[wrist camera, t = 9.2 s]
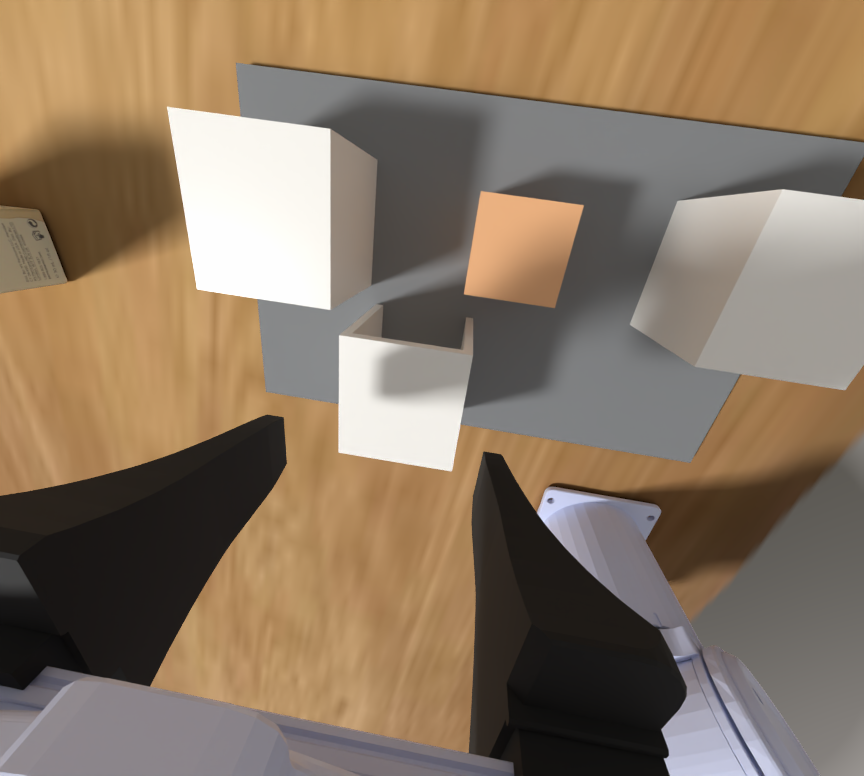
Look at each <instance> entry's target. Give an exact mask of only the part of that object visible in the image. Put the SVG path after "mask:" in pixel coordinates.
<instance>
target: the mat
mask: <svg viewBox="0 0 864 776" xmlns="http://www.w3.org/2000/svg"><path fill="white" fill-rule="evenodd" d="M236 70H237V81H238V92H239V103H240V113H241V117H246V118H253V119H261V120H268V121H276V122H283V123H291V124H298V125H306V126H313V127H321V128H328V129H331V130H333V131H335V132H336V133H338V134H339V135H341V136H342V137H344V138H345V139H347V140H348V141H350V142H351V143H353V144H354V145H356V146H357V147H359V148H360V149H362V150H363V151H365V152H366V153H368V154H369V155H371V156H372V157H374V158H375V159H377V180H376V200H375V220H374V240H373V260H372V280H371V286H369V287H368V288H366V289H364V290H363V291H361V292H359V293H358V294H356V295H355V296H353V297H351V298H350V299H348V300H346V301H345V302H343V303H341V304H340V305H338V306H336V307H335V308H333V309H331V310H327V309H321V308H314V307H308V306H301V305H295V304H289V303H282V302H276V301H269V300H263V299H258V310H259V320H260V331H261V342H262V353H263V364H264V375H265V386H266V392H270V393H276V394H282V395H288V396H294V397H300V398H306V399H312V400H318V401H324V402H330V403H336V404H339V335H340V334H341V333H342V332H343V331H345V330H346V329H347V328H348V327H350V326H351V325H352V324H353V323H354V322H356V321H357V320H358V319H359V318H360V317H362V316H363V315H364V314H365V313H366V312H368V311H369V310H370V309H371V308H372V307H374V306H375V305H376V304H380V305H383V320H382V337H381V338H387V339H394V340H401V341H407V342H414V343H420V344H427V345H434V346H440V347H447V348H454V349H460V350H461V346H462V340H463V334H464V328H465V322H466V317H468V318H473V359H472V364H471V369H470V375H469V380H468V386H467V391H466V397H465V402H464V408H463V413H462V418H461V424H462V425H468V426H474V427H480V428H486V429H492V430H498V431H503V432H509V433H515V434H521V435H527V436H533V437H539V438H545V439H551V440H557V441H563V442H569V443H575V444H581V445H587V446H593V447H599V448H605V449H611V450H617V451H623V452H629V453H635V454H641V455H647V456H653V457H659V458H665V459H671V460H677V461H683V462H689V463H690V462H691V461H692V459H693V457H694V455H695V453H696V452H697V450H698V448H699V446H700V445H701V443H702V441H703V439H704V438H705V436H706V434H707V432H708V431H709V429H710V427H711V425H712V423H713V422H714V420H715V418H716V416H717V415H718V413H719V411H720V409H721V408H722V406H723V404H724V402H725V401H726V399H727V397H728V395H729V393H730V392H731V390H732V388H733V386H734V385H735V383H736V381H737V379H738V378H739V376H740V374H738V373H731V372H725V371H718V370H712V369H705V368H699V367H694V366H693V365H691V364H689V363H688V362H686V361H685V360H683V359H682V358H680V357H679V356H677V355H676V354H674V353H673V352H671V351H669V350H668V349H666V348H665V347H663V346H662V345H660V344H659V343H657V342H656V341H654V340H652V339H651V338H649V337H648V336H646V335H645V334H643V333H642V332H640V331H639V330H637V329H636V328H634V327H632V326H631V325H630V322H631V320H632V317H633V315H634V312H635V310H636V307H637V304H638V302H639V299H640V297H641V294H642V291H643V289H644V286H645V284H646V281H647V279H648V276H649V273H650V271H651V268H652V266H653V263H654V260H655V258H656V255H657V253H658V250H659V248H660V245H661V242H662V240H663V237H664V235H665V232H666V229H667V227H668V224H669V222H670V219H671V216H672V214H673V211H674V209H675V206H676V204H677V201H681V200H690V199H699V198H708V197H717V196H726V195H735V194H744V193H753V192H762V191H771V190H780V189H785V190H793V191H800V192H808V193H815V194H823V195H830V196H838V197H841V196H842V194H843V192H844V190H845V189H846V187H847V185H848V183H849V182H850V180H851V178H852V176H853V175H854V173H855V171H856V169H857V168H858V166H859V164H860V162H861V160H862V159H863V157H864V143H863V142H856V141H848V140H840V139H832V138H824V137H816V136H808V135H800V134H793V133H785V132H777V131H769V130H761V129H753V128H745V127H737V126H729V125H722V124H714V123H706V122H698V121H690V120H682V119H674V118H666V117H659V116H651V115H643V114H635V113H627V112H619V111H611V110H603V109H595V108H588V107H580V106H572V105H564V104H556V103H548V102H540V101H532V100H525V99H517V98H509V97H501V96H493V95H485V94H477V93H469V92H461V91H454V90H446V89H438V88H430V87H422V86H414V85H406V84H398V83H391V82H383V81H375V80H367V79H359V78H351V77H343V76H335V75H327V74H320V73H312V72H304V71H296V70H288V69H280V68H272V67H264V66H257V65H249V64H241V63H236ZM481 191H484V192H492V193H499V194H506V195H513V196H520V197H528V198H535V199H542V200H549V201H557V202H564V203H571V204H578V205H584V207H583V210H582V214H581V217H580V221H579V224H578V228H577V231H576V235H575V239H574V242H573V246H572V249H571V253H570V256H569V260H568V263H567V267H566V270H565V274H564V277H563V281H562V284H561V288H560V291H559V295H558V298H557V302H556V305H555V308H551V307H544V306H538V305H531V304H524V303H518V302H511V301H505V300H498V299H491V298H485V297H478V296H472V295H465V294H464V290H465V283H466V276H467V270H468V264H469V258H470V252H471V246H472V240H473V234H474V228H475V222H476V216H477V210H478V204H479V198H480V193H481Z"/></svg>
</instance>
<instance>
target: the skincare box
mask: <svg viewBox="0 0 864 776" xmlns="http://www.w3.org/2000/svg"><path fill="white" fill-rule="evenodd" d="M64 283H67V278H66V276H65V274H64V271H63V269H62V266H61V264H60V260H59V258H58V255H57V253H56V250H55V248H54V245H53V242H52V240H51V237H50V235H49V232H48V230H47V227H46V225H45V223H44V220H43V218H42V215H41V213H40V211H39V210H37V209H29V208H19V207H10V206H0V293H6V292H12V291H19V290H25V289H32V288H38V287H44V286H51V285H57V284H64Z"/></svg>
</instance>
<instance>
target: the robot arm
mask: <svg viewBox="0 0 864 776" xmlns="http://www.w3.org/2000/svg"><path fill="white" fill-rule="evenodd" d="M286 464H287V460H286V445H285V431H284V417H278V416H272V415H265V416H262V417H259V418H257V419H255V420H252V421H250V422H248V423H245V424H243V425H241V426H239V427H236V428H234V429H232V430H230V431H227V432H225V433H223V434H220V435H218V436H216V437H214V438H211V439H209V440H207V441H204V442H202V443H199V444H197V445H194V446H192V447H189V448H187V449H184V450H182V451H179V452H177V453H174V454H171V455H168V456H166V457H163V458H160V459H157V460H154V461H151V462H148V463H144V464H141V465H138V466H135V467H132V468H128V469H124V470H120V471H117V472H113V473H109V474H106V475H102V476H98V477H94V478H90V479H86V480H82V481H77V482H73V483H68V484H64V485H59V486H54V487H49V488H44V489H39V490H33V491H28V492H22V493H16V494H9V495H3V496H0V776H821V775H820V774H819V772H818V770H817V769H816V767H815V766H814V764H813V762H812V761H811V759H810V758H809V756H808V755H807V753H806V752H805V750H804V749H803V747H802V745H801V744H800V742H799V741H798V739H797V738H796V736H795V735H794V733H793V732H792V730H791V729H790V727H789V726H788V724H787V723H786V721H785V720H784V718H783V717H782V715H781V714H780V712H779V711H778V709H777V708H776V706H775V705H774V704H773V702H772V701H771V699H770V698H769V697H768V695H767V694H766V692H765V691H764V690H763V688H762V687H761V685H760V684H759V683H758V681H757V680H756V679H755V677H754V676H753V675H752V673H751V672H750V671H749V670H748V669H747V667H746V666H745V665H744V664H743V663H742V662H741V661H740V660H739V659H738V658H737V657H735V656H733V655H731V654H729V653H727V652H724V651H723V650H722V649H721V648H719V647H718V646H710V647H706V648H704V647H703V646H702V644H701V643H700V641H699V639H698V637H697V635H696V633H695V631H694V630H693V628H692V626H691V624H690V622H689V620H688V619H687V617H686V615H685V613H684V611H683V609H682V607H681V606H680V604H679V602H678V600H677V598H676V596H675V595H674V593H673V591H672V589H671V587H670V585H669V583H668V582H667V580H666V578H665V576H664V574H663V572H662V570H661V569H660V567H659V565H658V563H657V561H656V559H655V558H654V556H653V554H652V552H651V550H650V548H649V546H648V545H647V543H646V539H647V537H648V535H649V534H650V532H651V530H652V528H653V526H654V525H655V523H656V521H657V519H658V518H659V516H660V514H661V510H660V508H659V507H658V506H657V505H655V504H651V503H645V502H639V501H633V500H628V499H622V498H616V497H610V496H604V495H599V494H593V493H587V492H581V491H576V490H570V489H564V488H558V487H548V488H547V489H546V490H545V492H544V495H543V498H542V500H541V503H540V506H539V509H538V512H536V511H535V510H534V508H533V507H532V505H531V504H530V502H529V501H528V499H527V498H526V496H525V495H524V493H523V491H522V490H521V488H520V487H519V485H518V483H517V482H516V480H515V478H514V476H513V475H512V473H511V471H510V469H509V467H508V466H507V464H506V462H505V460H504V458H503V456H502V455H501V454H495V453H489V452H483V456H482V461H481V465H480V469H479V473H478V478H477V482H476V486H475V490H474V494H473V506H472V538H473V554H474V569H475V585H476V612H475V642H474V668H473V688H472V708H471V725H470V742H469V753H465V752H460V751H455V750H450V749H445V748H440V747H436V746H431V745H426V744H421V743H416V742H411V741H407V740H402V739H397V738H392V737H387V736H382V735H378V734H373V733H368V732H363V731H358V730H353V729H349V728H344V727H339V726H334V725H329V724H325V723H320V722H315V721H310V720H305V719H300V718H296V717H291V716H286V715H281V714H276V713H271V712H267V711H262V710H257V709H252V708H247V707H242V706H238V705H234V704H231V703H226V702H221V701H217V700H212V699H207V698H202V697H197V696H192V695H188V694H183V693H178V692H173V691H168V690H163V689H159V688H154V687H150V685H151V683H152V681H153V679H154V677H155V675H156V673H157V672H158V670H159V668H160V666H161V664H162V662H163V660H164V658H165V656H166V654H167V652H168V650H169V648H170V646H171V644H172V642H173V641H174V639H175V637H176V635H177V633H178V631H179V630H180V628H181V626H182V624H183V622H184V620H185V619H186V617H187V615H188V613H189V611H190V610H191V608H192V606H193V604H194V603H195V601H196V599H197V598H198V596H199V594H200V592H201V591H202V589H203V587H204V586H205V584H206V582H207V580H208V579H209V577H210V576H211V574H212V572H213V571H214V569H215V567H216V566H217V564H218V563H219V561H220V559H221V558H222V556H223V554H224V553H225V551H226V550H227V549H228V547H229V546H230V544H231V543H232V541H233V540H234V539H235V537H236V536H237V535H238V533H239V532H240V531H241V530H242V528H243V527H244V526H245V524H246V523H247V522H248V520H249V519H250V518H251V516H252V515H253V514H254V513H255V511H256V510H257V509H258V507H259V506H260V505H261V503H262V502H263V501H264V499H265V498H266V497H267V495H268V494H269V493H270V491H271V490H272V488H273V487H274V485H275V484H276V482H277V480H278V478H279V477H280V475H281V473H282V471H283V469H284V468H285V466H286ZM549 498H553V499H551V500H548V499H549ZM648 516H650V517H648Z"/></svg>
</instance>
